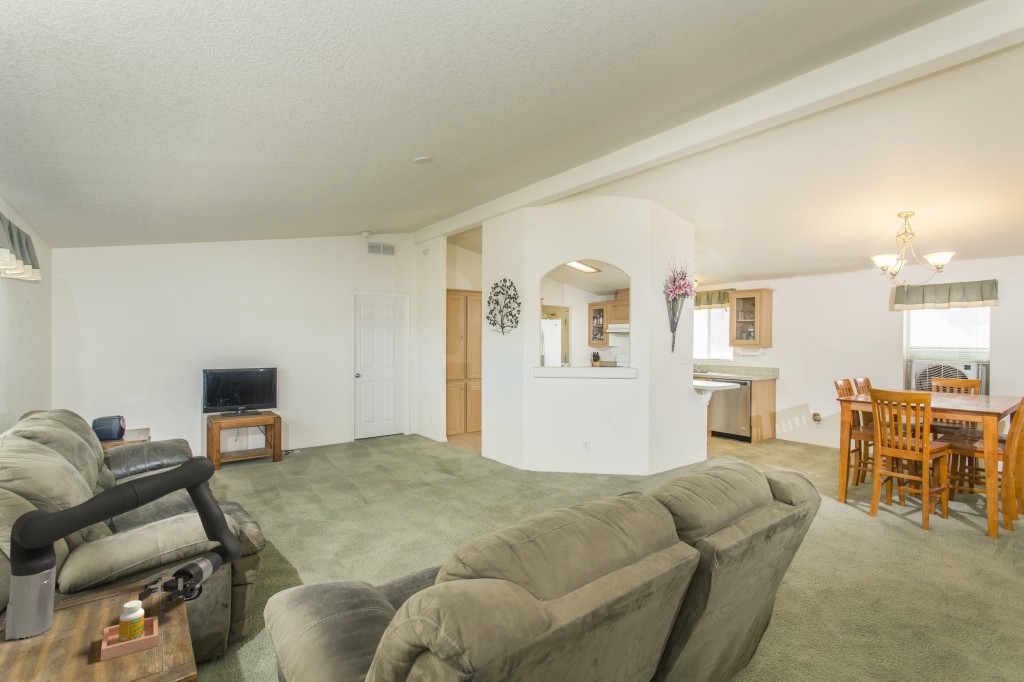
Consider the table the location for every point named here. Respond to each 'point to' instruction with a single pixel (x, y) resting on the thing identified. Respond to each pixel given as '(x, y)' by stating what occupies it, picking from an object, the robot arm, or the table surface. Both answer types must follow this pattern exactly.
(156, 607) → the table surface
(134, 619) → the supplement bottle
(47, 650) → the table surface
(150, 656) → the table surface
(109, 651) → the tray
